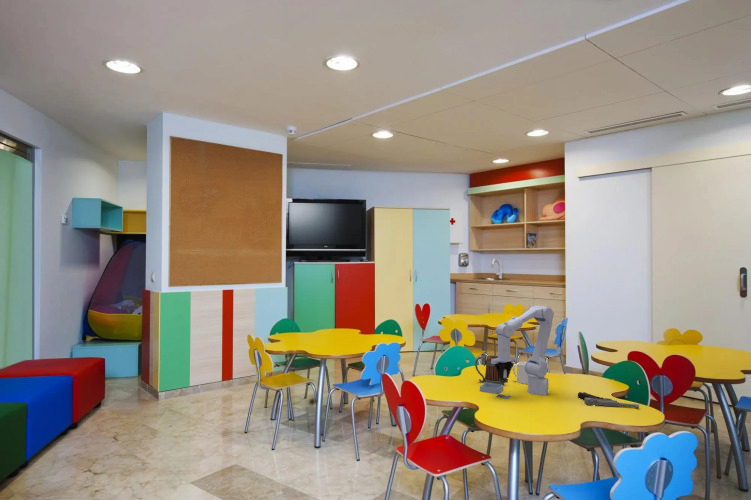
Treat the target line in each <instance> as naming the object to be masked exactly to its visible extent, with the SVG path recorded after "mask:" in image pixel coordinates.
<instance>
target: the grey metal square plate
mask: <svg viewBox="0 0 751 500" xmlns="http://www.w3.org/2000/svg"><path fill="white" fill-rule="evenodd" d="M495 398H499V399H505V400H509V399H510V398H512V395H508V394H507V395H506V394H501V393H499V394H496V396H495Z"/></svg>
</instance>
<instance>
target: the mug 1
mask: <svg viewBox="0 0 751 500" xmlns="http://www.w3.org/2000/svg"><path fill="white" fill-rule="evenodd" d="M495 358H498V355H495V354H493V355H487V356H486V358H485V357H484V356H480V355H479V356H477V357H476V358H475V360H474V366H475V370H476V371H477V373H478V374H479V375H480V376H481V378H482V379H481V378H480V379H478V381H479V382H480V383H481V384H484V383H486V382H487V383H493V384H499V385H504V386H505V383H503V382H500V378H499V375H498V372H497V369H496V367H495V365H494V364H491V359H495ZM480 359H481V360H483V363H482V365H483V367H485V373H484V374H485V375H483V374H482V372H481V371H480V370H479V368H478V362H479V360H480ZM502 364H503V363H502Z"/></svg>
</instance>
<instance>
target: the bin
mask: <svg viewBox="0 0 751 500" xmlns="http://www.w3.org/2000/svg"><path fill="white" fill-rule="evenodd" d="M504 386H505V384H504V385H499V384H493V383H487V382H486V383H485V382H484V383H481V385H480V386H479V392H480V393H481V392H482V393H487V394H494V395H499V394H501V393H502V392H503V391H504V390H505V389H504V388H505V387H504Z"/></svg>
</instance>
